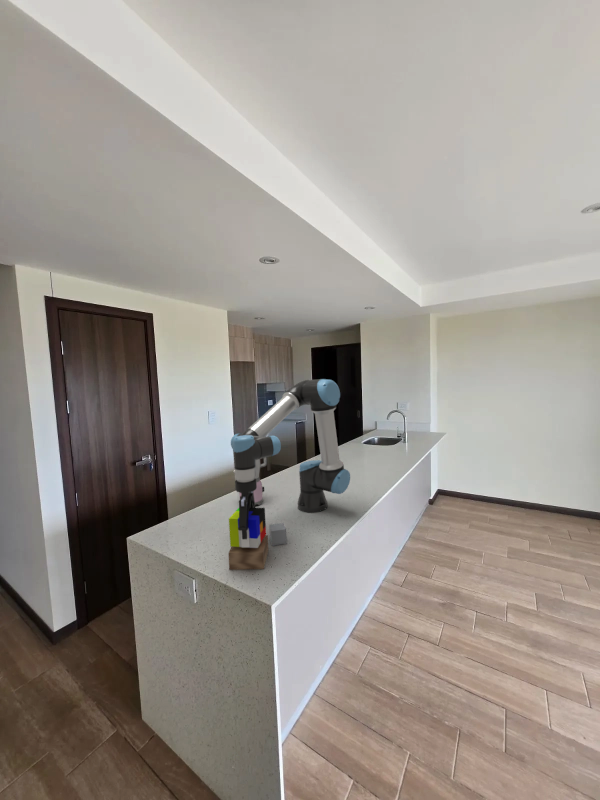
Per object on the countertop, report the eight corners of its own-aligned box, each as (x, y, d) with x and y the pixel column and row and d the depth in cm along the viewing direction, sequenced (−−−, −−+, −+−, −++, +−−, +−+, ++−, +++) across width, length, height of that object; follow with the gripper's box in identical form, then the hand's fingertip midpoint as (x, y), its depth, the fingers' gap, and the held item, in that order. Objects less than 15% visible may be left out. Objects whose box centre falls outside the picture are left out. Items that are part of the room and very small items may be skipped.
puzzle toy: (257, 548, 110) (256, 519, 109) (230, 546, 112) (228, 518, 111) (266, 533, 120) (264, 508, 119) (240, 532, 122) (239, 507, 121)
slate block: (284, 536, 132) (283, 522, 132) (286, 543, 127) (286, 529, 126) (269, 538, 131) (269, 524, 131) (271, 546, 125) (271, 531, 125)
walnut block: (268, 550, 122) (267, 535, 122) (263, 569, 110) (263, 552, 110) (237, 551, 122) (236, 535, 122) (229, 569, 110) (228, 552, 110)
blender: (240, 509, 163) (236, 447, 161) (238, 500, 174) (235, 442, 172) (270, 505, 166) (267, 444, 164) (267, 497, 178) (264, 440, 176)
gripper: (242, 470, 126) (245, 524, 127) (226, 490, 103) (230, 556, 104) (261, 469, 126) (263, 523, 127) (249, 489, 103) (253, 556, 104)
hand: (248, 538), depth 116 cm, fingers closed on puzzle toy, 10 cm apart
